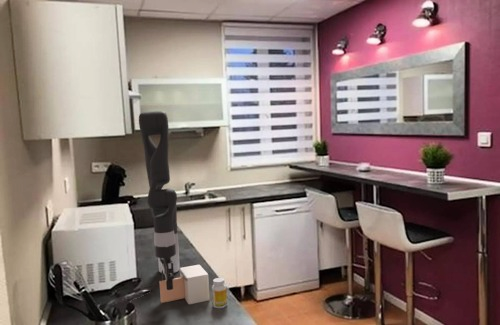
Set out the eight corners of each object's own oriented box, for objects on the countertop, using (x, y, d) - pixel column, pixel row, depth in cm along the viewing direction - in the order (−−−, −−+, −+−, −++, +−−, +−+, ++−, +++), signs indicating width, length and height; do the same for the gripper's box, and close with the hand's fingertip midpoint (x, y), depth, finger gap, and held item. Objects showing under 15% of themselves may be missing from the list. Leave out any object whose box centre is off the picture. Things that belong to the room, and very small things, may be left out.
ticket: (160, 301, 158) (159, 281, 157) (197, 294, 163) (196, 274, 162) (161, 302, 157) (159, 281, 156) (197, 295, 162) (196, 275, 162)
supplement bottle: (209, 305, 154) (208, 280, 153) (220, 300, 157) (218, 275, 156) (219, 310, 150) (218, 283, 149) (230, 304, 154) (229, 279, 153)
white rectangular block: (180, 292, 166) (178, 268, 165) (200, 288, 170) (199, 264, 168) (187, 304, 155) (186, 278, 154) (209, 300, 158) (208, 274, 157)
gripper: (151, 239, 161) (154, 281, 163) (158, 249, 148) (160, 294, 150) (171, 237, 164) (173, 277, 166) (179, 246, 151) (181, 290, 153)
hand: (167, 285), depth 158 cm, fingers open, 8 cm apart
